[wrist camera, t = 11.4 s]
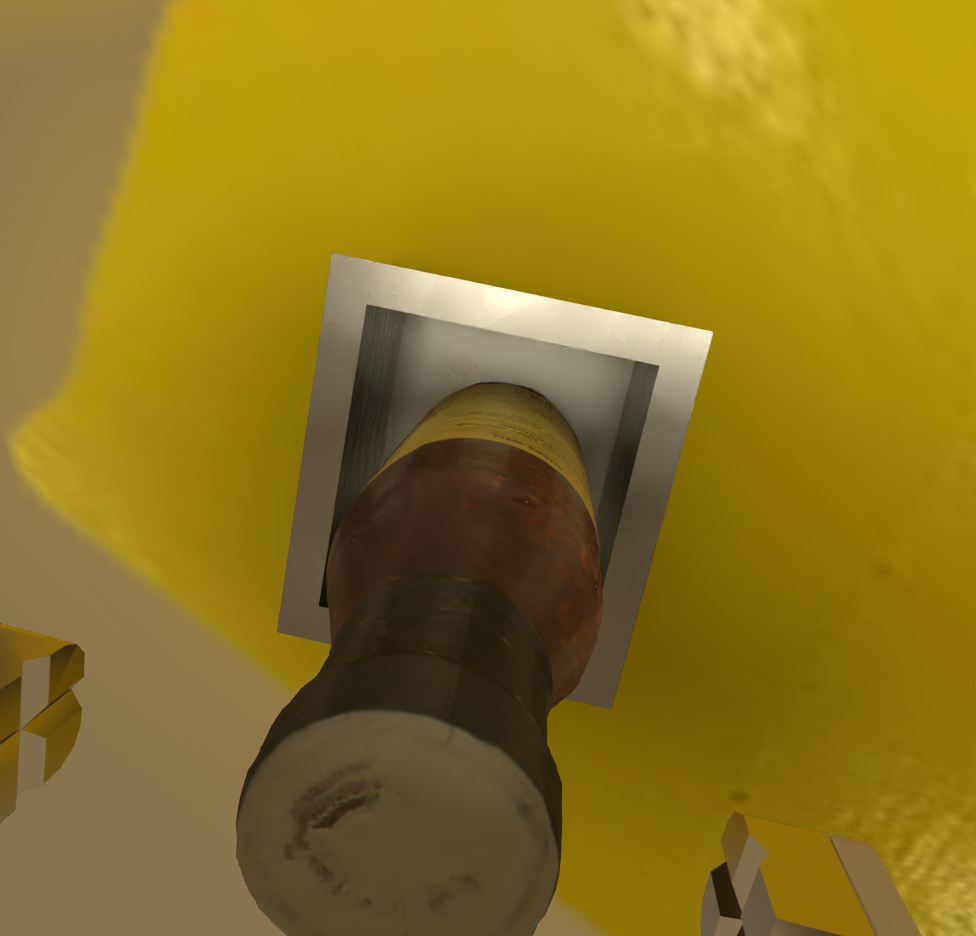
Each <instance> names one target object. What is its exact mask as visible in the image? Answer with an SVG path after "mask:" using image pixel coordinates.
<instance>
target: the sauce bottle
mask: <svg viewBox="0 0 976 936" xmlns="http://www.w3.org/2000/svg"><path fill="white" fill-rule="evenodd" d="M326 585H327V602H328V608H329V619H330V632H331V646H332V647H331V649H330V651H329V657H328V658H327V659H326V661H325V663H324V665H323V667H322V669H321V671H320V672H319V673H318V675H317V676H316V677H315V678H314V679H313V680H311V681H310V682H309V683H307V684H306V685H305V686H304V687H302V688H301V689H300V690H299V692H298V693H297V694H296V695H295V697H294V698H293V699H292V700H291V702H290V703H289V704H288V705H287V706H285V707H284V708H283V709H282V711H281V712H280V714H279V715H278V717H277V718H276V720H275V721H274V723H273V725H272V726H271V728H270V730H269V732H268V734H267V737H266V739H265V741H264V743H263V745H262V746H261V748H260V752H259V754H258V756H257V757H256V759H255V761H254V762H253V764H252V765H251V767H250V768H249V770H248V772H247V775H246V779H245V782H244V785H243V789H242V792H241V796H240V800H239V806H238V813H237V820H236V832H237V852H236V857H237V860H238V863H239V866H240V869H241V872H242V875H243V878H244V881H245V883H246V885H247V887H248V890H249V892H250V893H251V895H252V896H253V898H254V899H255V901H256V903H257V905H258V907H259V909H260V910H261V911H262V912H263V913H264V914H265V915H266V916H267V917H268V918H269V919H270V920H271V921H272V922H273V923H274V924H275V925H276V926H277V927H278V928H279V929H280V930H281V931H282V932H284V933H285V934H286V935H287V936H532V935H533V933H534V931H535V929H536V926H537V924H538V923H539V921H540V920H541V919H542V918H543V917H544V915H545V914H546V912H547V910H548V907H549V905H550V902H551V900H552V898H553V895H554V893H555V890H556V886H557V882H558V877H559V871H560V860H561V839H562V782H561V779H560V777H559V774H558V771H557V767H556V764H555V762H554V759H553V757H552V755H551V753H550V749H549V747H548V745H547V716H548V714H549V712H550V710H551V708H553V707H555V706H556V705H557V704H558V703H559V702H560V701H561V700H563V699H564V698H565V697H567V696H568V695H570V694H571V693H572V691H573V690H574V689H575V688H576V687H577V686H578V685H579V683H580V679H581V677H582V675H583V673H584V672H585V668H586V665H587V664H588V661H589V659H590V657H591V655H592V652H593V650H594V647H595V645H596V643H597V636H598V632H599V628H600V624H601V617H602V611H603V591H602V586H601V585H602V573H601V570H600V548H599V542H598V536H597V530H596V524H595V518H594V513H593V508H592V503H591V498H590V492H589V486H588V481H587V475H586V469H585V465H584V460H583V456H582V451H581V448H580V445H579V441H578V439H577V436H576V434H575V432H574V430H573V428H572V427H571V425H570V424H569V422H568V421H567V419H566V418H565V416H564V415H563V414H562V413H561V412H560V411H559V410H558V408H557V407H556V406H555V405H554V404H552V403H551V402H550V401H549V400H547V399H546V397H545V396H544V395H542V394H541V393H539V392H536V391H535V390H534V389H532V388H526V387H522V386H520V385H514V384H509V383H500V382H482V383H476V384H474V385H471V386H469V387H466V388H463V389H461V390H459V391H456V392H454V393H452V394H450V395H449V396H447V397H445V398H444V399H443V400H441V401H440V402H439V403H438V404H437V405H435V406H434V407H433V408H432V409H431V410H430V411H429V412H428V413H427V414H426V415H425V416H424V417H423V419H422V420H421V421H420V422H419V423H418V425H417V426H416V427H415V428H414V429H413V431H412V432H411V433H410V434H409V435H408V436H407V438H406V439H404V440H403V442H402V443H400V444H399V446H398V447H397V448H396V449H395V451H394V453H393V454H391V455H390V457H389V458H388V459H387V460H386V462H385V464H384V465H383V466H382V467H380V469H379V471H377V472H376V473H375V474H374V476H373V477H372V478H371V480H370V481H369V482H368V483H367V485H366V486H365V487H364V489H363V490H362V491H361V492H360V494H359V495H358V496H357V497H356V499H355V500H354V502H353V503H352V505H351V506H350V508H349V509H348V511H347V512H346V513H345V515H344V517H343V519H342V521H341V523H340V525H339V527H338V529H337V531H336V534H335V536H334V539H333V542H332V545H331V549H330V553H329V558H328V565H327V573H326Z"/></svg>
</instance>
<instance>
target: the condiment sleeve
mask: <svg viewBox="0 0 976 936" xmlns="http://www.w3.org/2000/svg"><path fill="white" fill-rule="evenodd" d="M712 335H713V332H712V331H707V330H702V329H697V328H692V327H687V326H683V325H678V324H673V323H668V322H663V321H658V320H654V319H649V318H644V317H639V316H634V315H629V314H625V313H620V312H615V311H610V310H605V309H600V308H596V307H591V306H586V305H581V304H576V303H571V302H567V301H562V300H557V299H552V298H547V297H542V296H538V295H533V294H528V293H523V292H518V291H514V290H509V289H504V288H499V287H494V286H489V285H485V284H480V283H475V282H470V281H465V280H460V279H456V278H451V277H446V276H441V275H436V274H431V273H427V272H422V271H417V270H412V269H407V268H402V267H398V266H393V265H388V264H383V263H378V262H373V261H369V260H364V259H359V258H354V257H349V256H344V255H340V254H335V253H332V257H331V264H330V271H329V278H328V285H327V292H326V298H325V305H324V312H323V319H322V326H321V333H320V340H319V347H318V353H317V360H316V367H315V374H314V381H313V388H312V395H311V402H310V409H309V415H308V422H307V429H306V436H305V443H304V450H303V457H302V464H301V470H300V477H299V484H298V491H297V498H296V505H295V512H294V519H293V525H292V532H291V539H290V546H289V553H288V560H287V567H286V574H285V580H284V587H283V594H282V601H281V608H280V615H279V622H278V629H277V632H280V633H284V634H288V635H293V636H297V637H301V638H306V639H310V640H314V641H319V642H323V643H327V644H331V632H330V619H329V608H328V602H327V585H326V573H327V565H328V558H329V553H330V549H331V545H332V542H333V539H334V536H335V534H336V531H337V529H338V527H339V525H340V523H341V521H342V519H343V517H344V515H345V513H346V512H347V511H348V509H349V508H350V506H351V505H352V503H353V502H354V500H355V499H356V497H357V496H358V495H359V494H360V492H361V491H362V490H363V489H364V487H365V486H366V485H367V483H368V482H369V481H370V480H371V478H372V477H373V476H374V474H375V473H376V472H377V471H379V469H380V467H382V466H383V465H384V464H385V462H386V460H387V459H388V458H389V457H390V455H391V454H393V453H394V451H395V449H396V448H397V447H398V446H399V444H400V443H402V442H403V440H404V439H406V438H407V436H408V435H409V434H410V433H411V432H412V431H413V429H414V428H415V427H416V426H417V425H418V423H419V422H420V421H421V420H422V419H423V417H424V416H425V415H426V414H427V413H428V412H429V411H430V410H431V409H432V408H433V407H434V406H435V405H437V404H438V403H439V402H440V401H441V400H443V399H444V398H445V397H447V396H449V395H450V394H452V393H454V392H456V391H459V390H461V389H463V388H466V387H469V386H471V385H474V384H476V383H482V382H500V383H509V384H514V385H520V386H522V387H526V388H532V389H534V390H535V391H536V392H539V393H541V394H542V395H544V396H545V397H546V399H547V400H549V401H550V402H551V403H552V404H554V405H555V406H556V407H557V408H558V410H559V411H560V412H561V413H562V414H563V415H564V416H565V418H566V419H567V421H568V422H569V424H570V425H571V427H572V428H573V430H574V432H575V434H576V436H577V439H578V441H579V445H580V448H581V451H582V456H583V460H584V465H585V469H586V475H587V481H588V486H589V492H590V498H591V503H592V508H593V513H594V518H595V524H596V530H597V536H598V542H599V548H600V570H601V573H602V585H601V586H602V591H603V611H602V617H601V624H600V628H599V632H598V636H597V643H596V645H595V647H594V650H593V652H592V655H591V657H590V659H589V661H588V664H587V665H586V668H585V672H584V673H583V675H582V677H581V679H580V683H579V685H578V686H577V687H576V688H575V689H574V690H573V691H572V693H571V694H570V695H568V696H567V697H565V699H570V700H574V701H578V702H583V703H587V704H591V705H596V706H600V707H604V708H609V709H612V706H613V702H614V698H615V695H616V691H617V687H618V684H619V680H620V676H621V672H622V669H623V665H624V661H625V658H626V654H627V650H628V646H629V643H630V639H631V635H632V632H633V628H634V624H635V620H636V617H637V613H638V609H639V606H640V602H641V598H642V595H643V591H644V587H645V583H646V580H647V576H648V572H649V569H650V565H651V561H652V557H653V554H654V550H655V546H656V543H657V539H658V535H659V531H660V528H661V524H662V520H663V517H664V513H665V509H666V505H667V502H668V498H669V494H670V491H671V487H672V483H673V479H674V476H675V472H676V468H677V465H678V461H679V457H680V453H681V450H682V446H683V442H684V439H685V435H686V431H687V427H688V424H689V420H690V416H691V413H692V409H693V405H694V402H695V398H696V394H697V390H698V387H699V383H700V379H701V376H702V372H703V368H704V364H705V361H706V357H707V353H708V350H709V346H710V342H711V338H712Z"/></svg>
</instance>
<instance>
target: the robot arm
mask: <svg viewBox="0 0 976 936" xmlns="http://www.w3.org/2000/svg"><path fill="white" fill-rule="evenodd" d="M84 655H85V653H84V652H83V651H82V649H81V648H80V647H79V646H78V645H77V644H74V643H71V642H67V641H64V640H61V639H57V638H53V637H50V636H46V635H43V634H39V633H35V632H32V631H28V630H24V629H21V628H17V627H13V626H10V625H7V624H5V625H3V624H1V623H0V824H1V823H2V822H3V821H4V820H5V819H6V818H7V817H8V816H9V815H10V814H12V813H13V812H14V811H15V808H16V799H17V794H18V793H21V792H24V791H27V790H29V789H32V788H35V787H38V786H41V785H43V784H44V783H45V782H46V781H47V780H49V779H50V778H51V777H52V776H53V775H54V774H55V773H56V772H57V771H58V770H59V769H60V768H61V766H62V765H63V763H64V761H65V760H66V758H67V756H68V755H69V753H70V752H71V750H72V749H73V747H74V745H75V742H76V739H77V735H78V732H79V729H80V723H81V711H82V708H81V706H80V704H79V702H78V701H77V699H76V697H75V695H74V693H73V691H72V690H71V689H72V688H73V687H74V686H75V685H76V684H77V683H78V682H79V681H80V680H81V679H82V678H83V677H84ZM721 842H722V846H723V850H724V854H725V858H726V862H724V863H723V864H721V865H720V866H719V867H717V868H716V869H714V870H713V871H711V872H710V876H709V879H708V883H707V886H706V889H705V893H704V896H703V905H702V913H701V936H921V934H920V932H919V930H918V928H917V926H916V924H915V923H914V921H913V919H912V917H911V915H910V913H909V912H908V910H907V908H906V906H905V904H904V902H903V900H902V899H901V897H900V895H899V893H898V891H897V889H896V887H895V886H894V884H893V882H892V880H891V878H890V876H889V874H888V873H887V871H886V869H885V867H884V865H883V863H882V861H881V860H880V858H879V856H878V854H877V852H876V850H875V849H874V848H873V847H872V846H871V845H869V844H868V843H867V842H866V841H862V840H858V839H853V838H849V837H844V836H839V835H835V834H830V833H826V832H817V831H813V830H809V829H804V828H800V827H796V826H792V825H788V824H783V823H779V822H775V821H771V820H766V819H762V818H758V817H754V816H750V815H745V814H741V813H737V812H734V813H733V815H732V816H731V818H730V819H729V821H728V822H727V825H726V828H725V831H724V834H723V837H722V839H721Z"/></svg>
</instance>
